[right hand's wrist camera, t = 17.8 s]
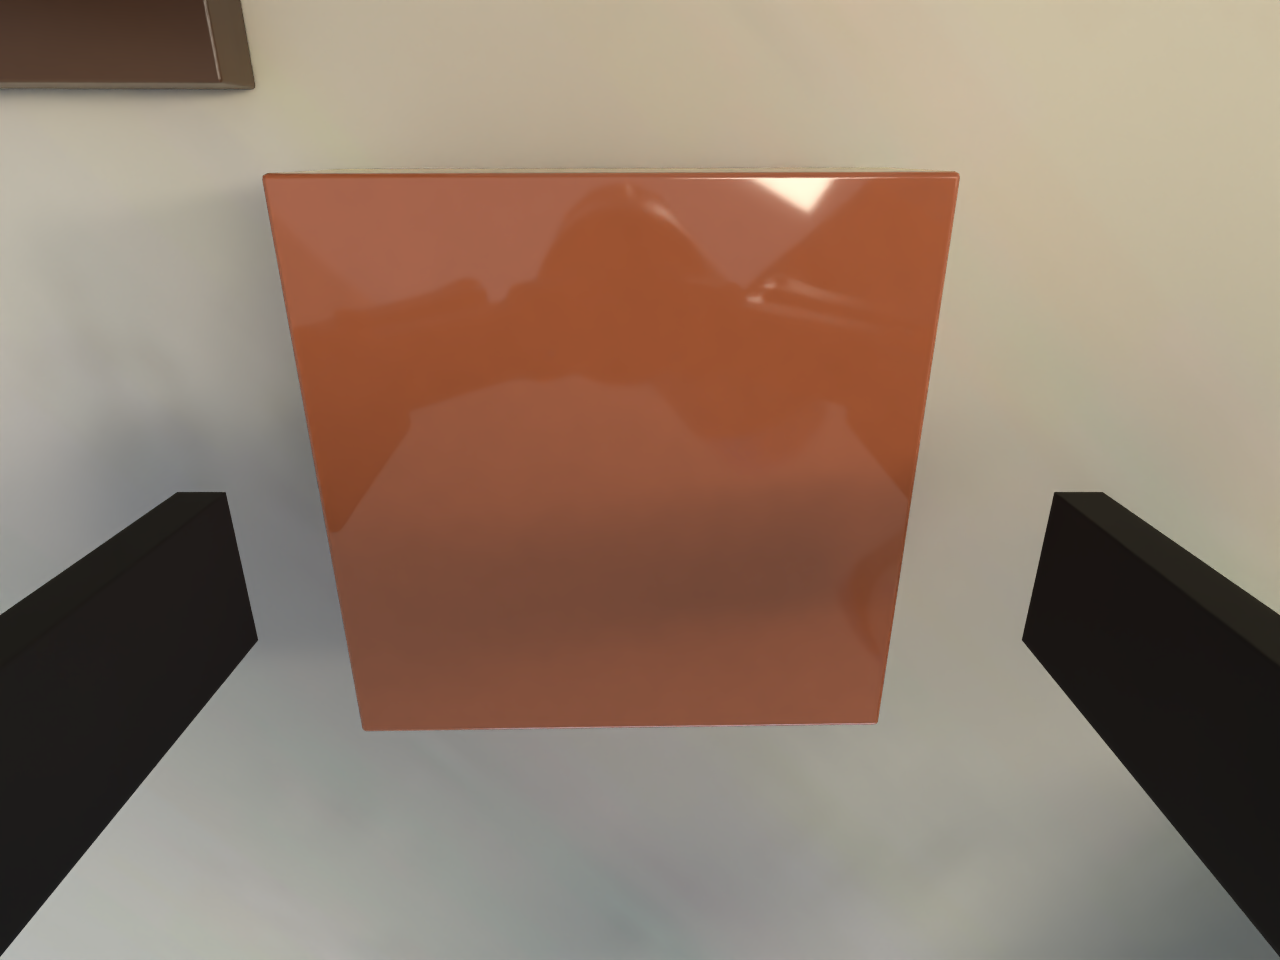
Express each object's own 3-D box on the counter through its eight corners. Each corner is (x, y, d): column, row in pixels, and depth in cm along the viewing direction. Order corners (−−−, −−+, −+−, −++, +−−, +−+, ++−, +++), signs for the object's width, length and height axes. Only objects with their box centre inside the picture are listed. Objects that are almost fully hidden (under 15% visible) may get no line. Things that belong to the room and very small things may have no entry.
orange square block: (362, 167, 17) (258, 173, 12) (868, 165, 17) (963, 171, 12) (420, 602, 21) (360, 733, 16) (822, 598, 21) (879, 726, 16)
